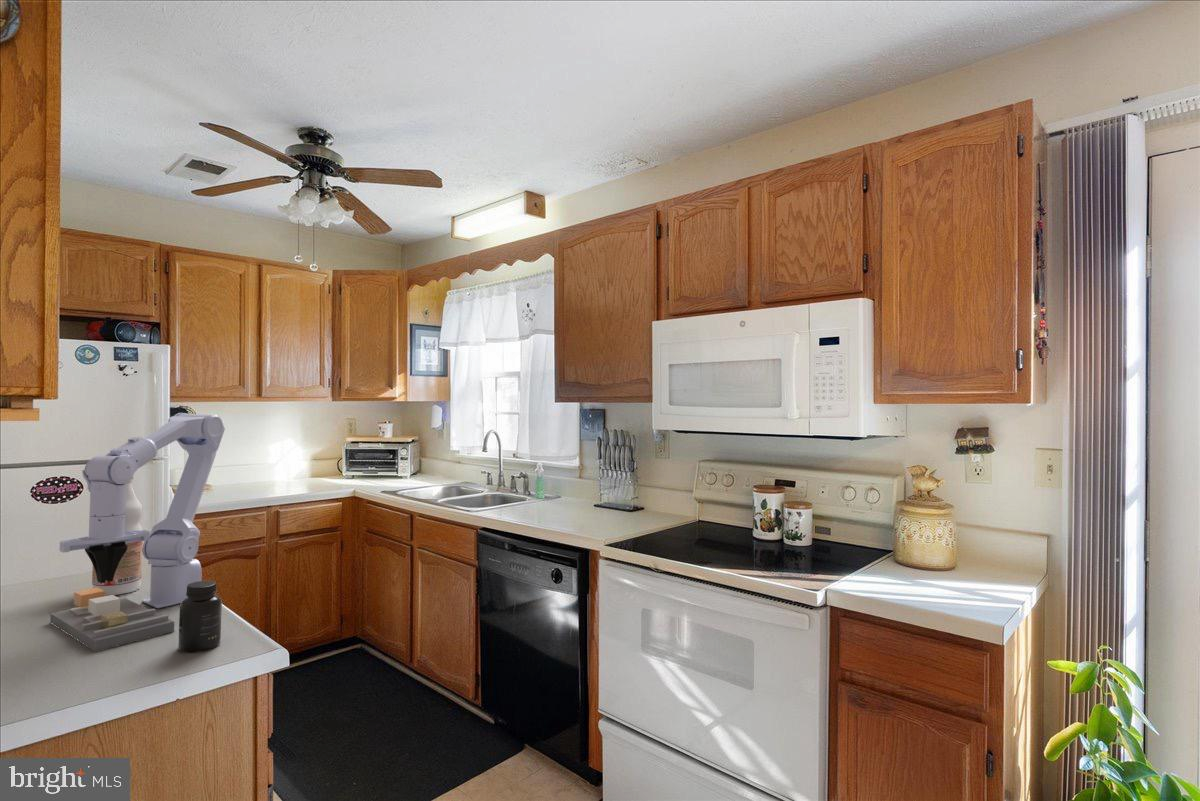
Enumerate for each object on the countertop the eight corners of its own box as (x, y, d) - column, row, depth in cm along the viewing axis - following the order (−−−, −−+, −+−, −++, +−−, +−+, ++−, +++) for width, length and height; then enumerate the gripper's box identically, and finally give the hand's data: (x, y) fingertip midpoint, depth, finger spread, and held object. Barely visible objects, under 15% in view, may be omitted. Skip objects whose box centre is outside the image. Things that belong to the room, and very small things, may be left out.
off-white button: (112, 606, 130) (112, 594, 130) (119, 610, 128) (120, 598, 128) (88, 611, 126) (88, 599, 126) (95, 615, 124) (96, 603, 124)
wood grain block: (118, 622, 124) (119, 610, 124) (127, 627, 122) (127, 614, 122) (100, 626, 122) (101, 614, 122) (108, 631, 119) (109, 619, 119)
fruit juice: (82, 597, 145) (86, 476, 145) (105, 585, 154) (108, 472, 154) (129, 595, 147) (133, 477, 147) (148, 584, 156) (152, 472, 156)
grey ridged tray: (125, 607, 139) (125, 593, 139) (174, 631, 126) (174, 616, 126) (50, 623, 129) (50, 608, 129) (95, 651, 115) (95, 635, 115)
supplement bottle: (169, 650, 117) (171, 586, 117) (203, 637, 123) (205, 576, 123) (195, 656, 115) (197, 590, 115) (229, 643, 121) (231, 581, 121)
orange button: (97, 599, 134) (97, 587, 134) (104, 602, 132) (104, 591, 132) (73, 603, 131) (74, 591, 131) (80, 607, 129) (81, 595, 129)
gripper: (140, 507, 135) (138, 570, 135) (55, 516, 123) (52, 585, 123) (154, 511, 131) (152, 576, 131) (67, 521, 119) (65, 592, 119)
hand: (105, 581), depth 127 cm, fingers closed
